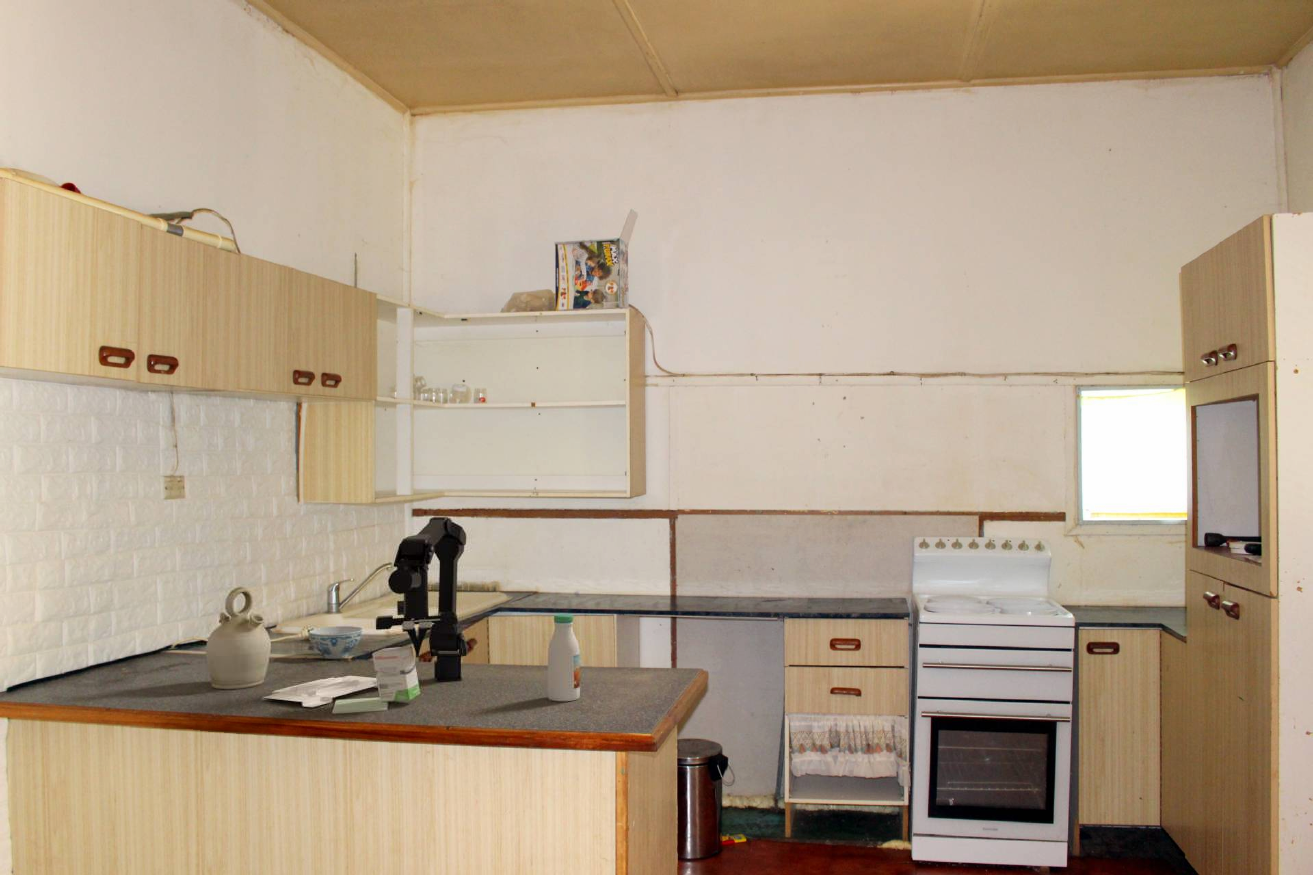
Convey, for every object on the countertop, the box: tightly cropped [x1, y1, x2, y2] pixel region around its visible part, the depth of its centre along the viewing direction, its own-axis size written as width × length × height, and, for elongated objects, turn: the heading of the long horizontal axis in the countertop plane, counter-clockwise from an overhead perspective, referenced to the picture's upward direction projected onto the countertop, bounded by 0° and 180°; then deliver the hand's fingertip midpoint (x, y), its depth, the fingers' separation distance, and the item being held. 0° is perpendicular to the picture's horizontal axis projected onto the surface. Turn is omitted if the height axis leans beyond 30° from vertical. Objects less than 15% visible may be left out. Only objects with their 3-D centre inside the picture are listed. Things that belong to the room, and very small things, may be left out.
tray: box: [261, 675, 378, 708], centre depth 245 cm, size 20×28×4 cm
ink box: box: [372, 646, 421, 702], centre depth 234 cm, size 9×5×12 cm, turn 68°
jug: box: [205, 586, 272, 690], centre depth 256 cm, size 15×16×25 cm
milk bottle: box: [547, 613, 581, 702], centre depth 238 cm, size 8×8×20 cm
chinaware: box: [308, 625, 363, 659], centre depth 293 cm, size 15×15×8 cm
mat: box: [331, 696, 389, 715], centre depth 231 cm, size 12×12×1 cm
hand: (417, 657), depth 234 cm, fingers closed
